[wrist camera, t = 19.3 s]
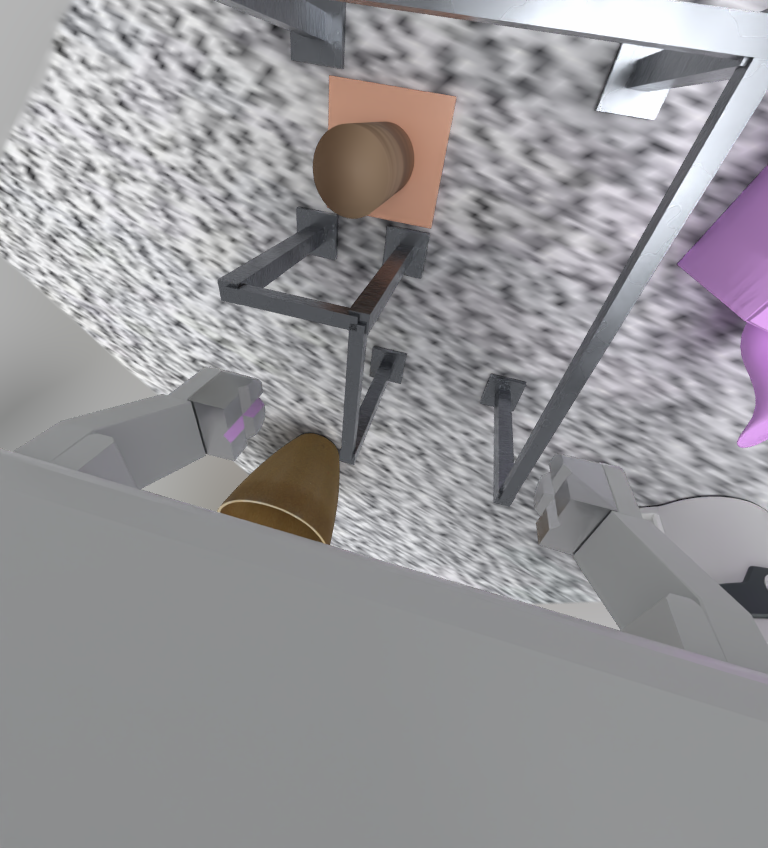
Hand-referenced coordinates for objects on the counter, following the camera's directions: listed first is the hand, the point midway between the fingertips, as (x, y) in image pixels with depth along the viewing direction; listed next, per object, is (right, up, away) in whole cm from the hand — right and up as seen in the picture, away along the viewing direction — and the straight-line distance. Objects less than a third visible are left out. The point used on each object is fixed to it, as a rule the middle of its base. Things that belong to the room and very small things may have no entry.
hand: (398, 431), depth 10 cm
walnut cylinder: (0, +23, +20) cm, 30 cm away
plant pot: (-11, -4, +48) cm, 49 cm away
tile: (0, +23, +21) cm, 31 cm away
